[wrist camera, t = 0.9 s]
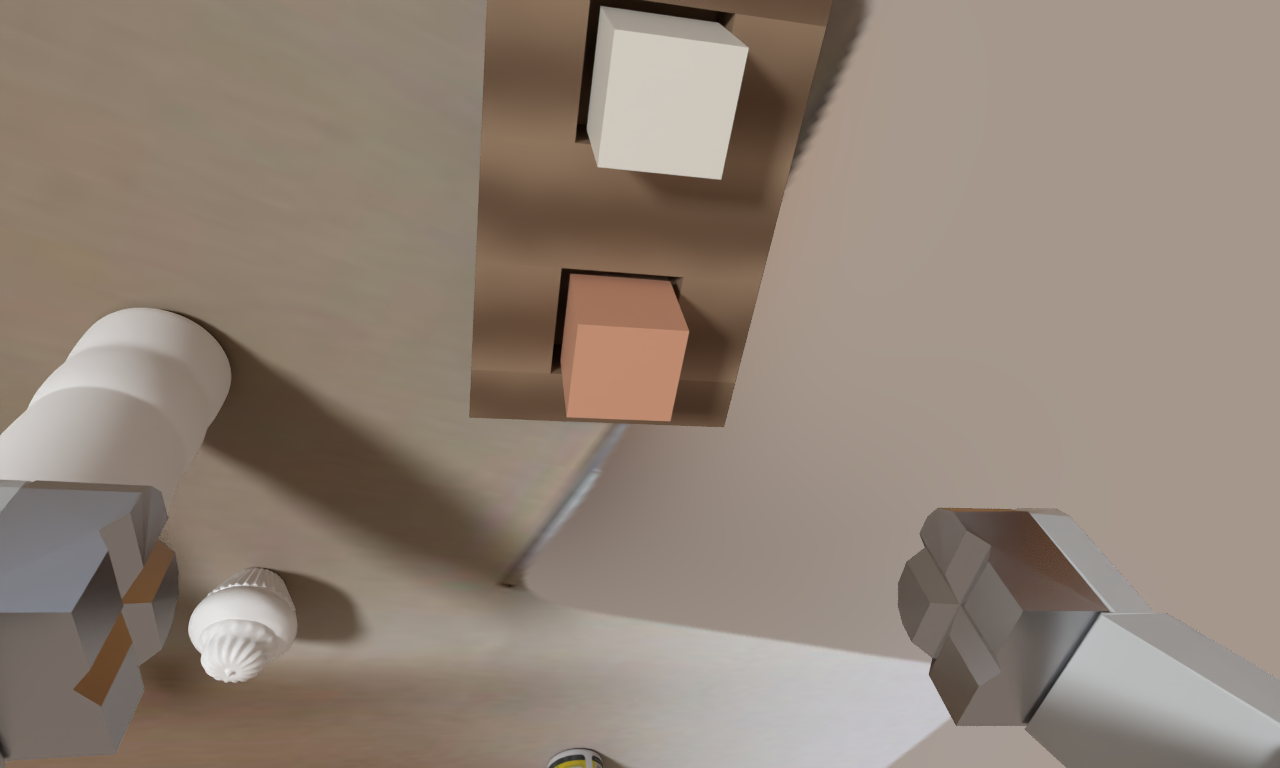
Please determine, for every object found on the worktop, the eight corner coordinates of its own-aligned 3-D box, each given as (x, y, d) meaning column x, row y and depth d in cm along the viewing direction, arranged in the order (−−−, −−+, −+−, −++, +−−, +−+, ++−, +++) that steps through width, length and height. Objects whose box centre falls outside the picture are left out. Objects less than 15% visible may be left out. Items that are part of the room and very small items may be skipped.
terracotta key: (570, 273, 39) (578, 324, 35) (670, 281, 40) (689, 331, 36) (560, 360, 41) (566, 417, 37) (654, 365, 42) (670, 421, 38)
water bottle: (262, 358, 43) (41, 829, 22) (186, 436, 45) (-81, 933, 24) (135, 275, 39) (-265, 742, 19) (59, 363, 41) (-378, 871, 21)
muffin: (291, 543, 50) (264, 633, 45) (320, 608, 54) (299, 698, 48) (190, 559, 50) (150, 651, 44) (226, 623, 53) (193, 716, 48)
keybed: (493, -118, 32) (492, -114, 29) (814, -63, 35) (846, -54, 32) (471, 376, 45) (469, 417, 42) (708, 387, 48) (723, 427, 45)
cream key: (600, 5, 32) (614, 29, 28) (718, 22, 33) (748, 47, 29) (586, 129, 35) (597, 167, 31) (696, 141, 36) (721, 179, 32)
